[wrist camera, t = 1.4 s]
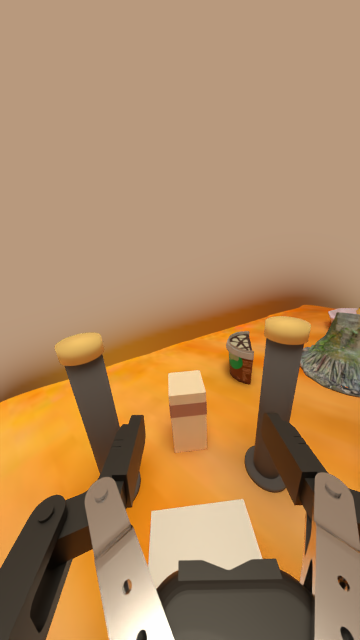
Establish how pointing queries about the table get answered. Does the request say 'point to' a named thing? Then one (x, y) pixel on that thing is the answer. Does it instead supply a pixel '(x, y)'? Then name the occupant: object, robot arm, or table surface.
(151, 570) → the mat
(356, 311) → the fruit bowl
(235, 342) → the food container
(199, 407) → the carton
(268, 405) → the gate
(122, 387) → the table surface
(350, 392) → the tree stump
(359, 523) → the robot arm
